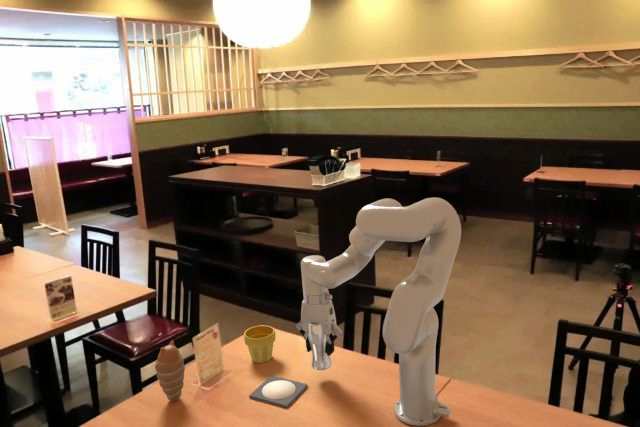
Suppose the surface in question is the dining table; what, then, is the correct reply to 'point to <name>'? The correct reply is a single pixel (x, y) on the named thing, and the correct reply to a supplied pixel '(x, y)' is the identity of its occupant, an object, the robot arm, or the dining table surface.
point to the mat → (278, 391)
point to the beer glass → (318, 347)
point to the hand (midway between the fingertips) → (320, 351)
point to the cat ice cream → (170, 371)
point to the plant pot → (260, 342)
